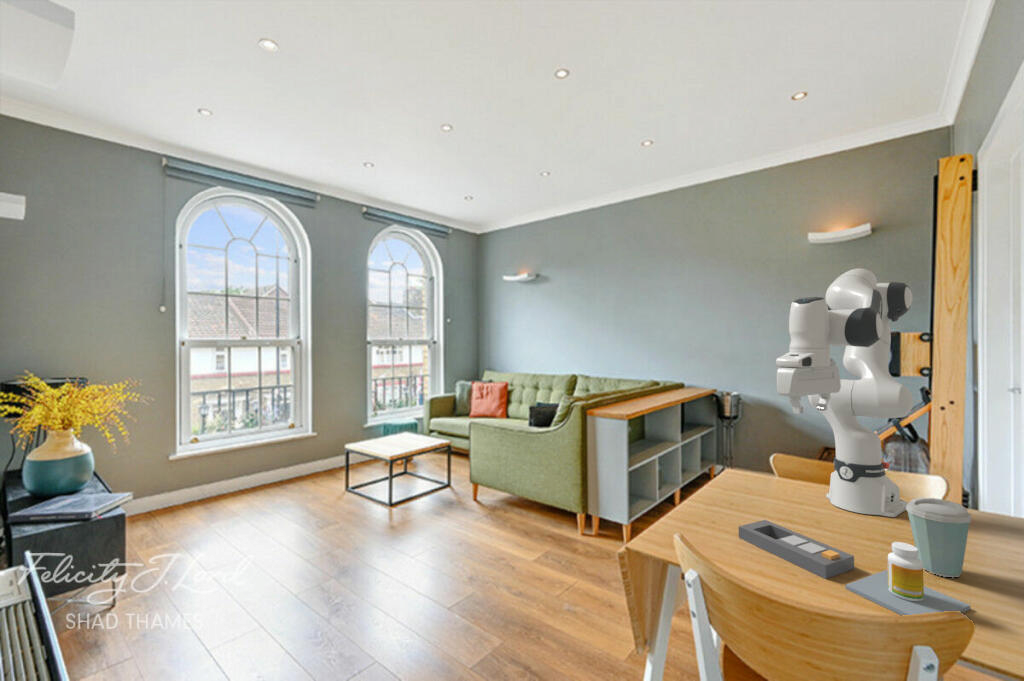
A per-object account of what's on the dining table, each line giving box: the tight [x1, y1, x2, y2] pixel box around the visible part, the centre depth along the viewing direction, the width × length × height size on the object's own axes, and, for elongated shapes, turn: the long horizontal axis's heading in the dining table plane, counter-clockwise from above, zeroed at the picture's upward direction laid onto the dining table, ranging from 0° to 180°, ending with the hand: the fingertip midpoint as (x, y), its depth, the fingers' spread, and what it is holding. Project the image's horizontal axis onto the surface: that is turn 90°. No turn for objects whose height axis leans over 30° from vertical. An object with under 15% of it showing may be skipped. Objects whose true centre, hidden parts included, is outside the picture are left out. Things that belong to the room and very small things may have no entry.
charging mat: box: [845, 569, 971, 616], centre depth 88 cm, size 14×14×1 cm
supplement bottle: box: [887, 541, 924, 602], centre depth 88 cm, size 5×5×10 cm
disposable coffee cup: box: [905, 497, 973, 579], centre depth 98 cm, size 11×11×15 cm
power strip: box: [738, 519, 855, 580], centre depth 108 cm, size 10×22×4 cm, turn 23°
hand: (810, 411), depth 115 cm, fingers open, 8 cm apart
